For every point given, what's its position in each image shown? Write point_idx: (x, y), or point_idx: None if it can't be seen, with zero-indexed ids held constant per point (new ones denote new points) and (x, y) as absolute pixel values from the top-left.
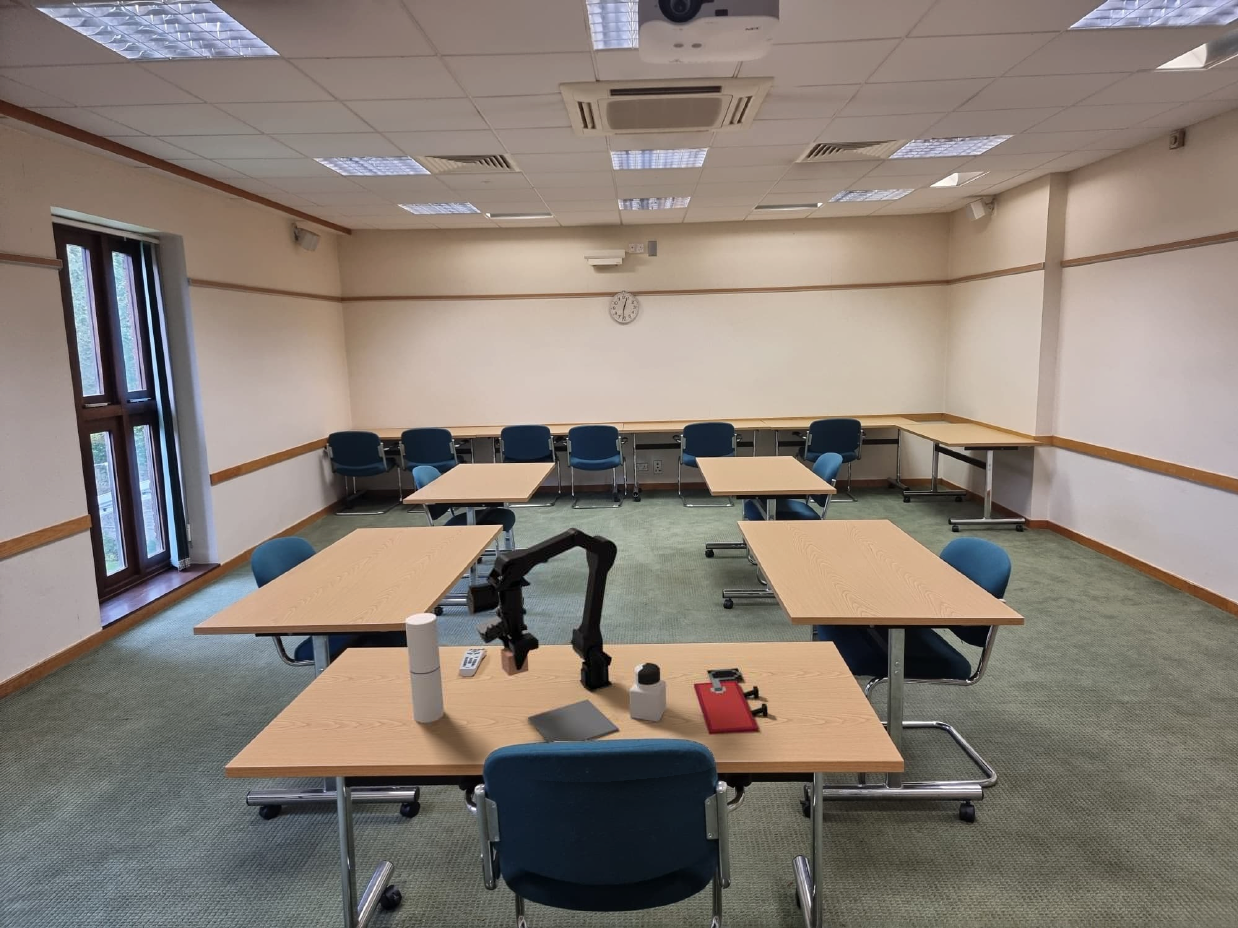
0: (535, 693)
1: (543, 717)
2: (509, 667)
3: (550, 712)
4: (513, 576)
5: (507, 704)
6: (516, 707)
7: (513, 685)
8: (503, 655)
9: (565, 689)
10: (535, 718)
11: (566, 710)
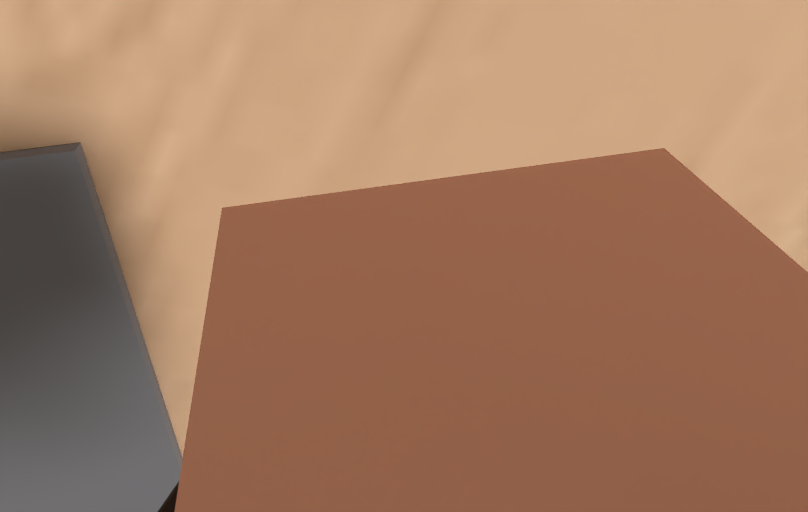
0: None
1: (26, 278)
2: (203, 341)
3: (104, 346)
4: None
5: (472, 18)
6: (366, 90)
7: (787, 162)
8: (669, 409)
9: None
10: (29, 209)
11: (97, 455)
